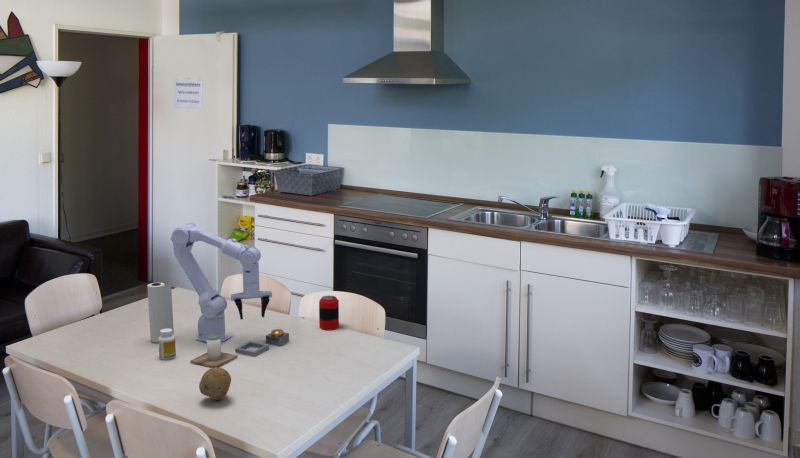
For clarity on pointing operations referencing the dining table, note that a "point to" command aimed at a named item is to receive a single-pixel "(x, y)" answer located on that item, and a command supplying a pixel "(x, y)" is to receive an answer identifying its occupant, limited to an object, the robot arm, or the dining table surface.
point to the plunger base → (277, 339)
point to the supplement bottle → (167, 344)
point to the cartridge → (213, 346)
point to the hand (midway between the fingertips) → (252, 317)
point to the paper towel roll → (159, 309)
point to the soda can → (329, 313)
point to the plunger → (277, 332)
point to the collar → (243, 350)
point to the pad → (213, 363)
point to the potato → (215, 383)
